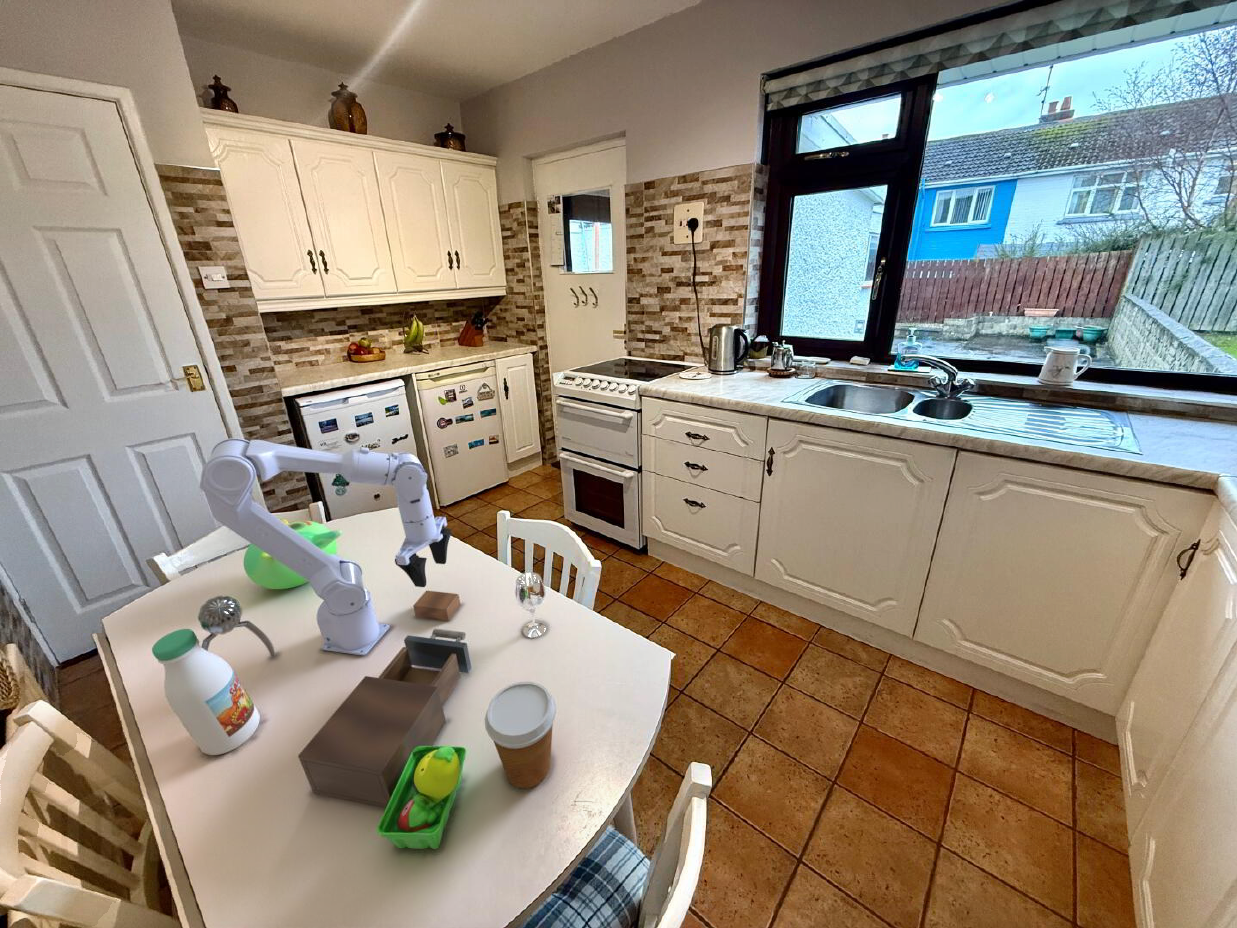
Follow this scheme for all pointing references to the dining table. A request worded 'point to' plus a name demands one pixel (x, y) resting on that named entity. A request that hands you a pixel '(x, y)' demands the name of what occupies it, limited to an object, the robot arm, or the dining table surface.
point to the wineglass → (530, 600)
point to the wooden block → (437, 605)
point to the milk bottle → (205, 694)
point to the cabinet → (372, 740)
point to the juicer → (226, 620)
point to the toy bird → (275, 573)
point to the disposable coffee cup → (522, 731)
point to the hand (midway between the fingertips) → (431, 574)
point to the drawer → (431, 661)
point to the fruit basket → (423, 797)
